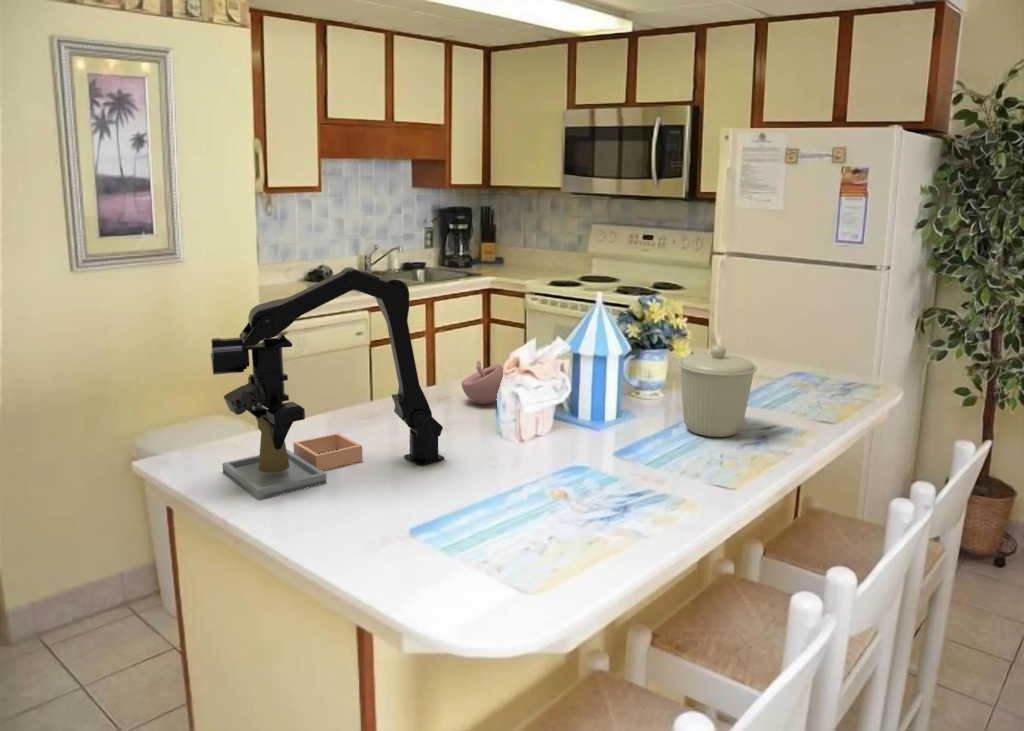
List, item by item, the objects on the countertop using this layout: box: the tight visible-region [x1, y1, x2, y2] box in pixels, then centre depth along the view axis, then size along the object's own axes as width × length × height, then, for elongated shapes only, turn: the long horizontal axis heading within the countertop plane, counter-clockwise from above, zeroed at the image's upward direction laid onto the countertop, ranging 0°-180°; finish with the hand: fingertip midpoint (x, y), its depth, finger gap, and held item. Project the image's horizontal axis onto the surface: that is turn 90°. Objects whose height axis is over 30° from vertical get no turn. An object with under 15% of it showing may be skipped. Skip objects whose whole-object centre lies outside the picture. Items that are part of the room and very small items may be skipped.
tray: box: [221, 448, 328, 501], centre depth 171 cm, size 18×14×2 cm
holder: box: [293, 432, 363, 471], centre depth 181 cm, size 11×11×4 cm
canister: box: [677, 344, 758, 438], centre depth 202 cm, size 18×18×21 cm
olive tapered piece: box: [257, 414, 289, 473], centre depth 169 cm, size 6×6×11 cm
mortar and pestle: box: [461, 360, 504, 405], centre depth 223 cm, size 12×12×11 cm
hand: (272, 445), depth 169 cm, fingers closed on olive tapered piece, 4 cm apart
